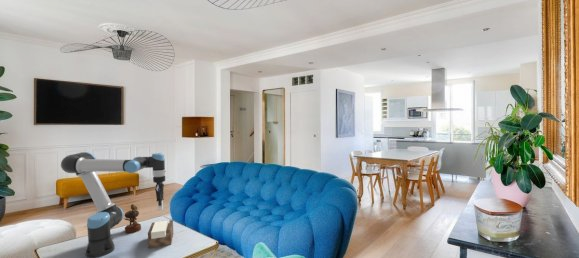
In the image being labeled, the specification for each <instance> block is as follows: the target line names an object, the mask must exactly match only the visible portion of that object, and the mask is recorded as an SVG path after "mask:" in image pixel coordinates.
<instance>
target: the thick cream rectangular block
mask: <svg viewBox="0 0 579 258" xmlns="http://www.w3.org/2000/svg"><path fill="white" fill-rule="evenodd" d="M153 223H154V222H153ZM168 223H169V221H168V220H163V221H162V220H161V221H155V223H154V226H153V229H152V231H151V239H154V238H161V237H165V236H166V232H167V228H168Z"/></svg>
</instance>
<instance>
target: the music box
mask: <svg viewBox="0 0 579 258" xmlns="http://www.w3.org/2000/svg"><path fill="white" fill-rule="evenodd" d="M130 209H131V210H129V211H126V212H125V213H124V217H123V220H125V221H128V222H129V224H127V225H126V226H125V227H124V233H126V234H134V233H138V232H140V231H141V230H142V225H141V224H140V223H139V222H137V220H138V218H137V217H139V215H140V211H139V209H138V206H137V205H135V204H134V203H132V204H130Z"/></svg>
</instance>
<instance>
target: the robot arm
mask: <svg viewBox="0 0 579 258" xmlns="http://www.w3.org/2000/svg"><path fill="white" fill-rule="evenodd" d="M165 159H166V158H165V154H164V153H163V152H155V153H152V154H151V156H137V157H134V158H132V159H113V158H112V159H98V158H96V156H95V155H94V154H93V153H91V152H85V151H83V152H81V151H80V152H77V153H74V154H73V153H72V154H69V155H66V156H65V157H63V158H62V160H61V162H60V168H61V170H62V171H64V172H65V173H67V174H68V173H69V174H75V175H76V176H77V177H79V178H80V179H81V180H82V182H83V184H84V186H85V188H86V190H87V191H88V194H89V196H90V198H91V199H92V201H93V203H94V205H95V207H96V209H97V210H96V213H93V214H92V215H90V216H88V218H87V222H86V227H87V229H86V230H87V241H88V242H87V245H86V249H85V253H84V254H85V257H86V256H87V258H99V257H103V256H106V255H108V254H110V253H112V252H114V250H115V249H116V248H115V243H114V241H113V238H112V235H111V230H112V229H113V228H115V226H118V225H119V224H120V223H121V221H122V220H124V217H125V213H124V210H123V209H122V208H121V207H120V206H117V205H116V203H114V202H112V201H111V198H110V197H109V195H108V192H107V191H106V189H105V187H104V185H103V183H102V181H101V179H100V177H99V176H98V173H97V172H120V173H121V172H124V173H125V172H126V173H129V174H133V173H136V172H138V171H141V170H143V169H146V168H147V169H151V168H152V177H153V178H152V182H153V183H155V184H156V185H155V188H154V190H155V195H156V202H157V208H158V209H157V210H158V211H163V210H164V202H163V201H164V199H165V198H164V186H165V185H164V182H165V181H166V172H167V171H166V169H165V168H166V166H165V165H166V163H165V162H166V161H165Z"/></svg>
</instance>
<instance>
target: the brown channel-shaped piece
mask: <svg viewBox="0 0 579 258" xmlns="http://www.w3.org/2000/svg"><path fill="white" fill-rule="evenodd" d="M155 222H156V221H155ZM155 222H151V224H150V227H149V228H148V232H147V243H148V249H152V248H157V247H158V248H159V247H165V246H171V245H172V243H173V239H172V238H173V237H174V220H173V219H170V220H169V221H168V228H167V232H166V236H165V237H161V238H154V239H151V231H152V229H153V226H154V223H155Z"/></svg>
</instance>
